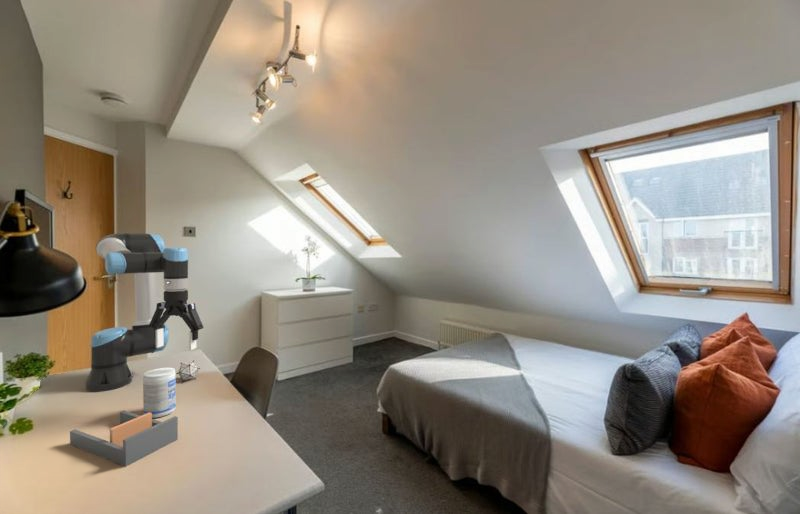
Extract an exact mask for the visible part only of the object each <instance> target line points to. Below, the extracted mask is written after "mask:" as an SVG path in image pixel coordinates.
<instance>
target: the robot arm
mask: <svg viewBox="0 0 800 514" xmlns="http://www.w3.org/2000/svg"><path fill="white" fill-rule="evenodd" d="M95 252H96V254H97V255H98V257H100V258H101V259H102V260H104V268H105V272H106V273H107V274H109V275H123V274H134V296H135V297H134V298H135V321H134V322H133V323H132V324H131V329H128V328H127V327H126V326H116V327H115V326H114V327H110V328H105V329H101V330H100V331H99V330H98V331H97V332H96V333H93V335H92V336H91V339H90V345H89V346H90V351H91V353H90V354H91V355H90V363H91V364H90V366H91V367H90V368H91V369H90V372H89V375H88V376H87V379H86V382H85V390H86V391H88V392H104V391H105V392H106V391H110V390H115V389H118V388H122V387H124V386H127V385H129V384H130V383H132V381H133V374H132V372H131V369H130V368H129V366H128V358H129V357H135V356H140V355H145V354H154V353H157V352H162V351H163V350H165V349H166V347H167V345H168V343H169V335H170V331H169V326H168V325H167V324H166V322H167V321H168V319H169V318H170V317H172V316H176V317H180V318H181V319H182V320H183V322H184V323H185V324H186V326H187V327H188V328H189V329H190V331H189V332H188V343H189V344H188V350H189V351H192V350H194V349H197V346H198V345H197V344H198V343H197V340H198V339H199V331H200V330H202V329H204V325H203V322H202V320H201V318H200V315H199V313H198V311H197V308H196V303H194V302H193V303H188V300H189V290H188V289H189V252H188V249H187V248H185V247H166V245H165V242H164V240H163V238H162V237H161V235H159V234H154V233H153V234H152V233H123V232H119V233H112V234H108V235H106V236H104V237H102V238H100V239H99V240H98V241H97V243H95ZM159 273H163V289H164V291H163V301H161V302H159V301H160V300H159V298H160V296H159Z"/></svg>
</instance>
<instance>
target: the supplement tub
mask: <svg viewBox="0 0 800 514" xmlns="http://www.w3.org/2000/svg"><path fill="white" fill-rule="evenodd" d="M176 373H177V372H176V369H175V368H174V367H159V368H154V369H150V370H148V371H146V372H144V373H143V377H142V380H143V381H142V385H143V387H142V389H143V391H142V392H143V393H142V394H143V395H142V399H143V415H144V414H147V413H149V412H150V413H152V419H156V418H162V417H165V416H167V415H170V414H172V413H173V412H174V411H175V410H176V408H177V407H176V406H177V405H176V404H177V400H176V399H177V397H176V396H177V395H176V394H177V390H176V387H177V386H176V382H177V381H176V375H177V374H176Z"/></svg>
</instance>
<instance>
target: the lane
mask: <svg viewBox="0 0 800 514" xmlns="http://www.w3.org/2000/svg"><path fill="white" fill-rule="evenodd" d="M140 416H142V415H140V414H137V413H133V412H130V411H126V410H121V411H119V425H120V424H123V423H125V422H128V421H130V420H132V419H135V418H137V417H140ZM178 418H179V417H178V416H175V415H174V416H172V417H169V418H168V419H165V420H163V421H160V420H156V419H155V418H152V427H150V428H148V429H146V430H143V431H141V432H139V433H137V434H135V435H133V436H130V437H128V438H126V439H124V440H123V447H122V446H120V445H117V444H114V443H111V442H110V440H106V439H104V438H103V439H102V438H100V437H97V436H94V435H91V434H90V433H86V432H84V431H81V430H78V429H76V428H75V429H73V430H69V444H70V445H71V446H73V447H75V448H78V449H80V450H83V451H85V452H88V453H91V454H93V455H96V456H97V457H98V456H99V457H101V458H104V459H106V460H109V461H111V462H114V463H116V464H119V465H121V466H124V467H128V466H130V465H132V464H133V463H136V462H137V461H139V460H141V459H144V457H146V456H148V455H150V454H152V453H154V452H156V451H158V450H160V449H162V448H164V447H167V446H168V445H170V444H172V443H173V442H176V441H177V440H178V436H179V434H178V424H179V423H178V420H179V419H178Z"/></svg>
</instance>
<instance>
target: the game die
mask: <svg viewBox="0 0 800 514" xmlns="http://www.w3.org/2000/svg"><path fill="white" fill-rule="evenodd" d="M199 370H201V368H200V367H198V366H197V364H195V360H192V361H191V362H184V363H183V362H180V367H179V370H178V372H175V373H176V374H175V375H178V376H179V377H180V379H182V380H181V382H182V383H183V382H184V381H187V380H191V379H194V380H197V373H198V371H199Z"/></svg>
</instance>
